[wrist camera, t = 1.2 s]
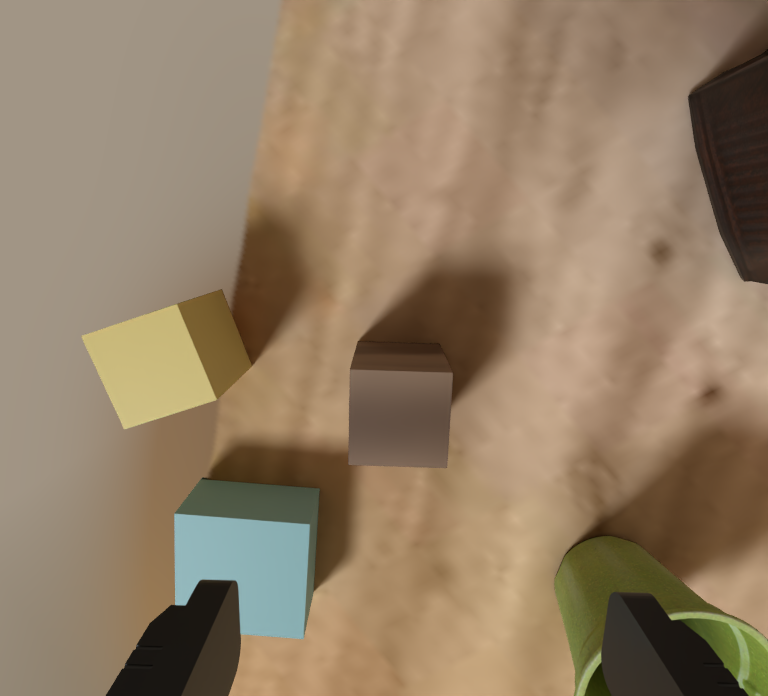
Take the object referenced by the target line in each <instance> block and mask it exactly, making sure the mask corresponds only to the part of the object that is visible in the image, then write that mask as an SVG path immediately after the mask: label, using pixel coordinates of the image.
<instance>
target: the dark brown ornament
mask: <svg viewBox="0 0 768 696" xmlns="http://www.w3.org/2000/svg"><path fill="white" fill-rule="evenodd" d="M688 100H689V107H690V114H691V121H692V128H693V135H694V142H695V148H696V152H697V155H698V159H699V163H700V166H701V170H702V173H703V177H704V180H705V184H706V187H707V191H708V194H709V198H710V201H711V205H712V208H713V212H714V215H715V218H716V222H717V225H718V229H719V232H720V235H721V237H722V239H723V241H724V243H725V246H726V248H727V250H728V252H729V254H730V256H731V258H732V260H733V262H734V265H735V267H736V269H737V271H738V273H739V275H740V277H741V279H742V280H743V281H744V282H745V281H754V282H759V283H765V284H768V49H767V50H766V51H765V52H764V53H763V54H762V55H760V56H758V57H756V58H754V59H752V60H750V61H748V62H746V63H744V64H742V65H740V66H738V67H735V68H733V69H730V70H728V71H726V72H723V73H722V74H720V75H719V76H717V77H716V78H714V79H713V80H711V81H710V82H708V83H707V84H705V85H704V86H702V87H701V88H699V89H698V90H696V91H695V92H693V93H692V94H690V95H689V96H688Z"/></svg>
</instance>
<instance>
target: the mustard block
mask: <svg viewBox="0 0 768 696" xmlns="http://www.w3.org/2000/svg"><path fill="white" fill-rule="evenodd" d="M81 337H82V339H83V341H84V344H85V345H86V348H87V350H88V352H89V354H90V356H91V358H92V361H93V363H94V365H95V367H96V369H97V371H98V373H99V376H100V378H101V380H102V382H103V384H104V387H105V389H106V391H107V393H108V395H109V397H110V400H111V402H112V404H113V406H114V408H115V410H116V412H117V415H118V417H119V419H120V421H121V423H122V425H123V428H124V429H127V428H130V427H134V426H136V425H140V424H143V423H146V422H149V421H152V420H155V419H158V418H162V417H165V416H168V415H171V414H174V413H177V412H180V411H183V410H187V409H190V408H193V407H196V406H199V405H202V404H206V403H209V402H212V401H215V400H217V399H218V398H219V397H220V396H221V395H222V394H224V393H225V392H226V391H227V390H228V389H229V388H230V387H231V386H232V385H233V384H234V383H235V382H236V381H237V380H238V379H239V378H240V377H241V376H242V375H243V374H244V373H245V372H246V371H248V370H249V369H250V368H251V367H252V364H251V362H250V359H249V357H248V354H247V352H246V349H245V347H244V344H243V342H242V339H241V337H240V334H239V332H238V329H237V327H236V324H235V322H234V319H233V316H232V314H231V311H230V308H229V306H228V303H227V301H226V298H225V296H224V294H223V291H222V289H221V290H218V291H215V292H212V293H209V294H206V295H203V296H200V297H197V298H193V299H191V300H188V301H184V302H181V303H179V304H175V305H172V306H169V307H166V308H163V309H160V310H157V311H155V312H151V313H148V314H145V315H142V316H140V317H137V318H134V319H131V320H128V321H125V322H122V323H119V324H116V325H113V326H110V327H107V328H104V329H101V330H98V331H95V332H92V333H89V334H86V335H83V336H81Z"/></svg>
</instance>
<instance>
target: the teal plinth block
mask: <svg viewBox="0 0 768 696" xmlns="http://www.w3.org/2000/svg"><path fill="white" fill-rule="evenodd" d="M319 492H320V489H319V488H306V487H293V486H281V485H268V484H256V483H243V482H230V481H218V480H208V478H204V477H202V478H201V480H200V481H199V482H198V484H197V485H196V486H195V487H194V489H193V490H192V491H191V493H190V494H189V495H188V497H187V498H186V499H185V501H184V502H183V503H182V504H181V506H180V507H179V509H178V510H177V511H176V512H175V514H174V516H175V517H174V518H175V605H186V604H187V602H188V600H189V598H190V596H191V594H192V593H193V591H194V589H195V587H196V585H197V584H198V582H199V581H200V580H202V579H204V580H236V581H237V584H238V591H239V612H240V634H245V635H258V636H271V637H284V638H297V639H304V635H305V630H306V625H307V620H308V616H309V611H310V606H311V601H312V597H313V592H314V576H315V559H316V542H317V526H318V509H319Z"/></svg>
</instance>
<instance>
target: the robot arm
mask: <svg viewBox="0 0 768 696" xmlns="http://www.w3.org/2000/svg"><path fill="white" fill-rule="evenodd" d="M240 647H241V634H240V612H239V591H238V584H237V581H236V580H204V579H202V580H200V581H199V582H198V584H197V585H196V587H195V589H194V591H193V593H192V594H191V596H190V598H189V600H188V602H187V604H186V605H171V606H169V607H168V608H167V609H166V610H165V611H164V612H163V613H161V614H160V615H159V616H158V617H157V618H156V619H154V620H153V621H152V622H151V623H150V624H149V626H148V627H147V629H146V630H145V632H144V634H143V636H142V637H141V639H140V640H139V642H138V644H137V646H136V650H133V652H132V653H131V655H130V657H129V659H128V660H127V662H126V663H125V668H124V669H122V670H121V672H120V673H119V675H118V676H117V678H116V680H115V682H114V683H113V685H112V686H111V688H110V690H109V691H108V693H107V694H106V696H228V695H229V692H230V689H231V686H232V684H233V681H234V678H235V675H236V671H237V667H238V662H239V656H240ZM601 662H602V669H603V674H604V678H605V681H606V684H607V687H608V689H609V691H610V693H611V695H612V696H749V695H748V694H747V693H746V691H745V690H744V689H743V688H740V686H739V682H738V681H737V680H736V679H735V677H734V676H733V675H732V673H731V672H730V671H729V669H728V668H725V667H724V663H723V662H722V660H721V659H720V658H719V657H718V655H717V654H716V653H715V651H714V650H713V649H712V647H711V646H710V645H709V644H708V642H707V641H706V640H705V639H704V638H702V637H701V636H700V635H699V634H697V633H696V632H695V631H694V630H692V629H691V628H690V627H688V626H687V625H686V624H685V623H683V622H682V621H681V620H671V619H670V618H669V616H668V615H667V613H666V612H665V611H664V609H663V608H662V607H661V605H660V604H659V602H658V601H657V600H656V598H655V597H654V596H653V595H652V594H650V593H634V592H613V593H611V595H610V597H609V601H608V608H607V615H606V622H605V629H604V636H603V643H602V650H601Z"/></svg>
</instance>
